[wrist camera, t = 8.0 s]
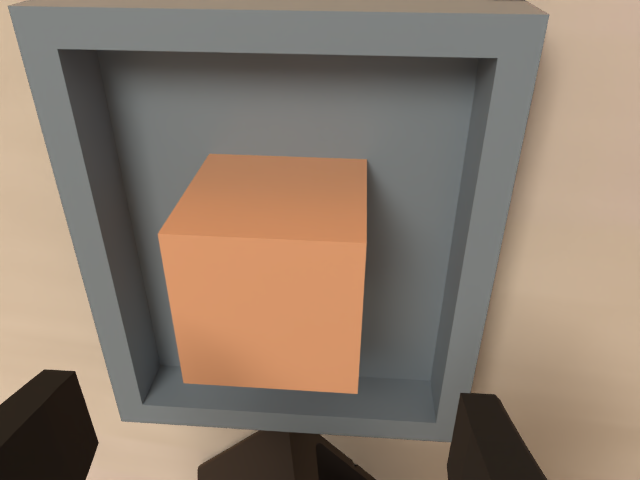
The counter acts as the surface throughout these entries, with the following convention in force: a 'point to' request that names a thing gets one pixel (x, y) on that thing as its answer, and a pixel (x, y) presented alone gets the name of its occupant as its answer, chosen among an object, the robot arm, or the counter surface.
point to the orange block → (269, 272)
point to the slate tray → (293, 141)
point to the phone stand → (282, 459)
